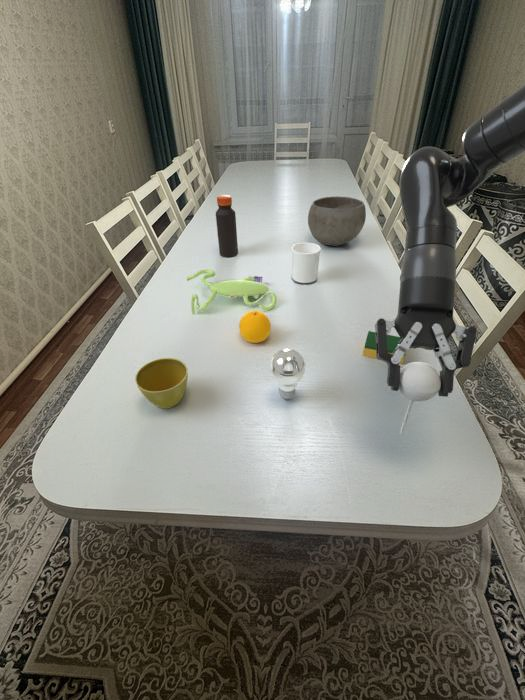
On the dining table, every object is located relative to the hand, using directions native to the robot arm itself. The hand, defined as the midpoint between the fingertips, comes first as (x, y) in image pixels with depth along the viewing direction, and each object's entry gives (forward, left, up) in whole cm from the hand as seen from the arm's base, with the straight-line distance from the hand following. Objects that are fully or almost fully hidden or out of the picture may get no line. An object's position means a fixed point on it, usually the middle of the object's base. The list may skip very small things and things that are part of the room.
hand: (418, 393), depth 52 cm
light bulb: (+22, -8, -16) cm, 29 cm away
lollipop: (0, -2, -11) cm, 12 cm away
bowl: (+31, -93, -16) cm, 99 cm away
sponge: (+5, -30, -16) cm, 34 cm away
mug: (+33, -61, -16) cm, 71 cm away
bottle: (+65, -70, -16) cm, 97 cm away
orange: (+36, -25, -16) cm, 47 cm away
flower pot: (+45, +1, -16) cm, 48 cm away
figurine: (+51, -41, -16) cm, 68 cm away
